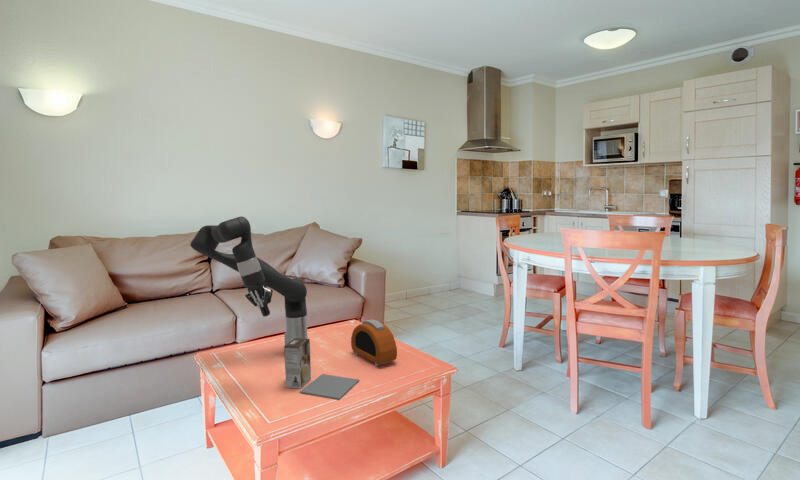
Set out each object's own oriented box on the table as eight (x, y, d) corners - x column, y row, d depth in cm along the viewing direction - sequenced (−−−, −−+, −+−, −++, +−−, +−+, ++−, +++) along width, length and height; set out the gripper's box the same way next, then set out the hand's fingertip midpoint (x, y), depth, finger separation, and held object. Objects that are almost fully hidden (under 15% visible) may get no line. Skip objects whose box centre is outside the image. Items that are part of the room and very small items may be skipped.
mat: (299, 393, 156) (299, 391, 156) (322, 375, 171) (322, 373, 171) (339, 399, 151) (339, 398, 151) (359, 381, 166) (359, 379, 166)
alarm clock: (350, 352, 195) (349, 316, 193) (367, 348, 201) (366, 313, 199) (380, 369, 177) (379, 329, 175) (397, 364, 182) (397, 325, 180)
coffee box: (296, 377, 170) (294, 337, 168) (311, 378, 168) (310, 338, 167) (285, 387, 161) (283, 345, 159) (301, 389, 159) (300, 346, 158)
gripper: (231, 277, 158) (247, 321, 160) (254, 272, 151) (271, 318, 153) (246, 270, 164) (262, 312, 166) (270, 265, 157) (286, 309, 160)
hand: (266, 315), depth 160 cm, fingers closed
